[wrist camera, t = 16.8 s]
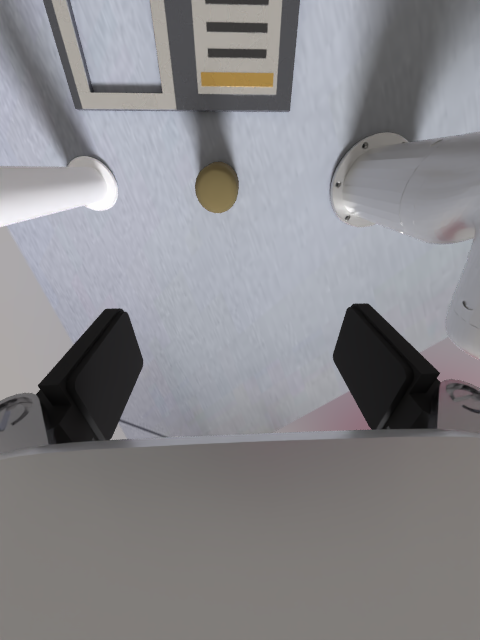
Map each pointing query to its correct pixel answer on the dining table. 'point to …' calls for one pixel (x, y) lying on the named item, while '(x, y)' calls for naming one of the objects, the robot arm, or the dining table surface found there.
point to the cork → (217, 187)
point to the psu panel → (198, 56)
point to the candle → (55, 189)
